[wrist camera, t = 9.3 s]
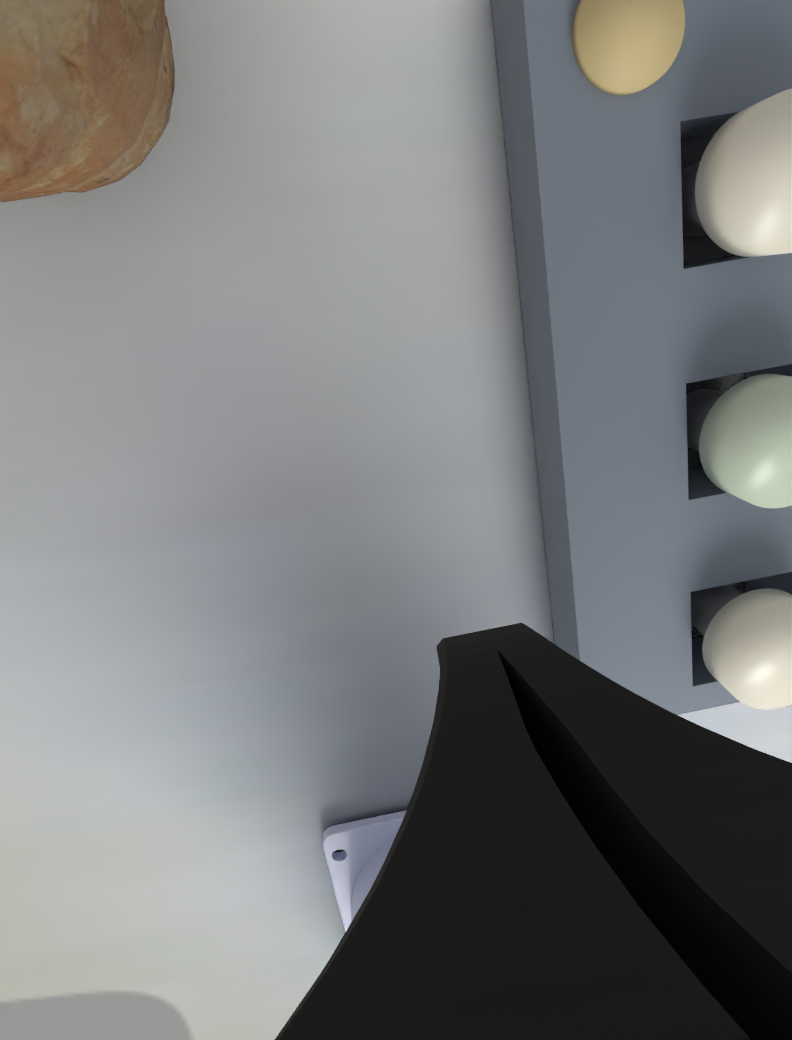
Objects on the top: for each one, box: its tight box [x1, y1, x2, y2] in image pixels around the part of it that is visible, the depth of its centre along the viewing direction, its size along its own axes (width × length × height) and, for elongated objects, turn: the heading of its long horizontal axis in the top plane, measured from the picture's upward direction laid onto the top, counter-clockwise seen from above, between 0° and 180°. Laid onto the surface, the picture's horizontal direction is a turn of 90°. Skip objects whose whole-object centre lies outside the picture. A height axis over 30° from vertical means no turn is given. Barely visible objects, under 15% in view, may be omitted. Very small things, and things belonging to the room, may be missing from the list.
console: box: [491, 0, 792, 715], centre depth 18 cm, size 20×10×3 cm, turn 10°
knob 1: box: [681, 89, 792, 257], centre depth 16 cm, size 3×3×4 cm
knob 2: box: [691, 584, 792, 709], centre depth 20 cm, size 3×3×4 cm
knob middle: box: [686, 374, 792, 508], centre depth 18 cm, size 3×3×4 cm
